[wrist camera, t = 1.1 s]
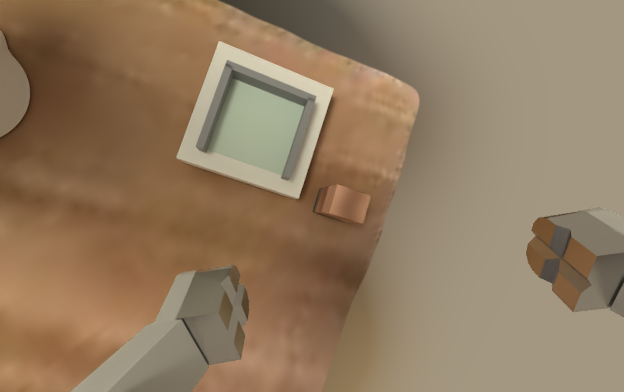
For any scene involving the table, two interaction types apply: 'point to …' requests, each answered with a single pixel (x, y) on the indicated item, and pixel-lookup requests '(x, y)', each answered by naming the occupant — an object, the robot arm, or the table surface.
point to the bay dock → (255, 122)
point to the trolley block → (342, 204)
